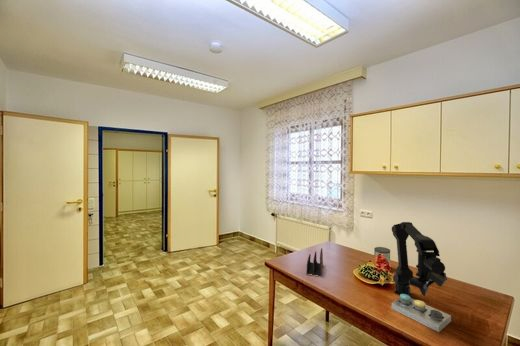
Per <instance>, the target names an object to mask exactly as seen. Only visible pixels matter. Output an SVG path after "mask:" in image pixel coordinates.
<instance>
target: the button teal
mask: <svg viewBox="0 0 520 346" xmlns="http://www.w3.org/2000/svg"><path fill="white" fill-rule="evenodd" d="M399 298H400V303H402V304H404V305H406V306H409V305H410V298H411V296H410V295H406V294H400V295H399Z"/></svg>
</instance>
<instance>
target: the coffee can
mask: <svg viewBox="0 0 520 346" xmlns="http://www.w3.org/2000/svg"><path fill="white" fill-rule="evenodd" d="M378 254H383V255H384V256H385V258H386V259H387V260H388V262H389V264H390V265H391V249H389V248H387V247H383V246H376V247H374V259H375V258H376V257H377V255H378Z"/></svg>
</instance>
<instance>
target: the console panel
mask: <svg viewBox="0 0 520 346" xmlns="http://www.w3.org/2000/svg"><path fill="white" fill-rule="evenodd" d="M415 300H416V299H414V298H412V297H410V305H409V306H406V305H404V304H402V303H400V297H399V298H398V299H396V300H394V301H393V302H391V310H393V311H396V312H397V313H399V314H402V315H403V316H406V317H408V318H409V319H411V320H413V321H416V322H417V323H420V324H422V325H423V326H426V327H428V328H430V329H431V330H434V332H435V331H436V332H437V333H440V332H441V331H442V330H443V329H445V328H446V326H448V325H449V324H450V323H451V322H452V315H451V314H448V313H447V312H444V311H441V310H439V309H438V308H437V309H436V308H435V307H433V306H430V305H427V304H426V307H425V312H424V313H421V312H419V311H417V310H415V304H414V301H415ZM431 310H436V311H439V312H441V313H442V320H441V321H439V320H437V319H434V318H432V317H431V314H430V311H431Z"/></svg>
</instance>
